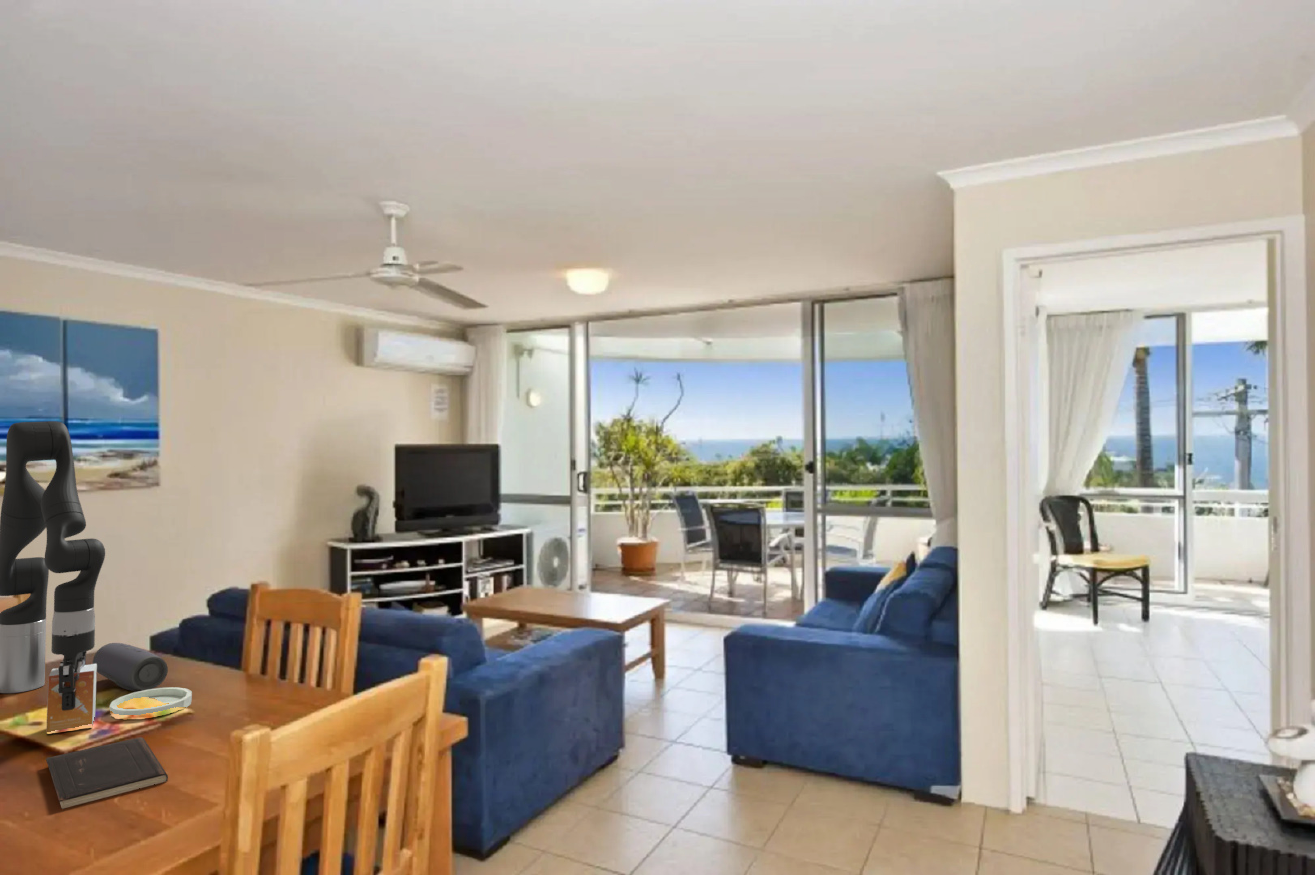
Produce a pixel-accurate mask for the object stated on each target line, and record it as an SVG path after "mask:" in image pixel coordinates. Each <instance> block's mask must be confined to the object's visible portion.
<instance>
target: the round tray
mask: <svg viewBox="0 0 1315 875" xmlns="http://www.w3.org/2000/svg"><path fill="white" fill-rule="evenodd" d="M141 697H149V698H155V699H157V700H158V701H161V702H163V703H169V704H166V705H162V706H157V707H151V708H144V709H123V708H118V707H117V705H119V704H120V703H123V702H124V701H128V700H130V699H133V698H141ZM192 697H193V692H192V690H190V689H188V688H184V687H179V686H177V687H175V686H174V687H172V686H171V687H155V688H153V689H148V690H138V691H133V692H131V693H128V694H125V695H122V696H119V697H117V698H116V699H114V700H112V701H111V702H110V704H109V710H110V711H112V712H113V713H114V714H119V715H141V714H146V713H153V712H158V711H163V710H167V709H170V708H174V707H175V708H176V707H186V708H189V706H191V705H192V700H193V698H192Z"/></svg>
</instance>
